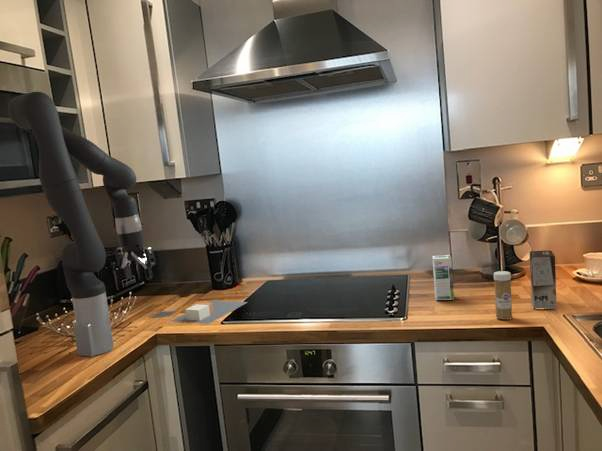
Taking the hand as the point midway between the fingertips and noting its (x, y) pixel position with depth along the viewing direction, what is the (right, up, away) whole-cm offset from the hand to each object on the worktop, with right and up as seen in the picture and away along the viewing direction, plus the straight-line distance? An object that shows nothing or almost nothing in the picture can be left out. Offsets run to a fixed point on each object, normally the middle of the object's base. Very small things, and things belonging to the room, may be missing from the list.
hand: (139, 278), depth 163 cm
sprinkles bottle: (+110, -10, -18) cm, 112 cm away
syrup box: (+100, -8, +6) cm, 101 cm away
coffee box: (+126, -7, -10) cm, 126 cm away
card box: (+18, -14, +11) cm, 25 cm away
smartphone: (+3, -16, +14) cm, 22 cm away
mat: (+20, -14, +16) cm, 29 cm away
